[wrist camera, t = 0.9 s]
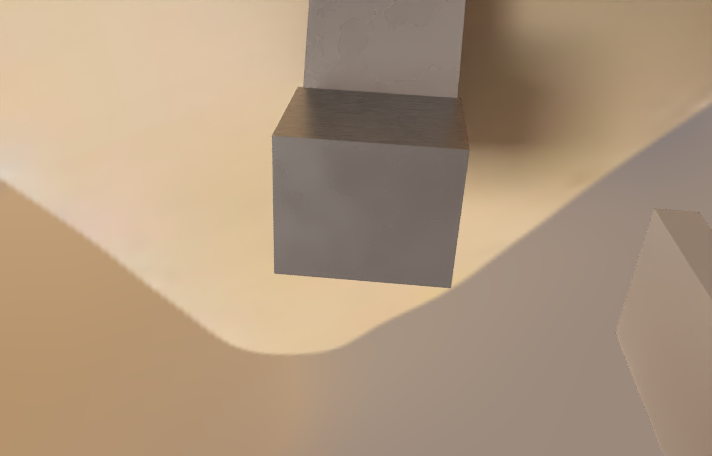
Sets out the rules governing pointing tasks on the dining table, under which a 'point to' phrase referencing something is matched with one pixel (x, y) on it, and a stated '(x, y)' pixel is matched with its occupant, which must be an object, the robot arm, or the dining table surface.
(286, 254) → the chute
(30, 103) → the dining table surface
